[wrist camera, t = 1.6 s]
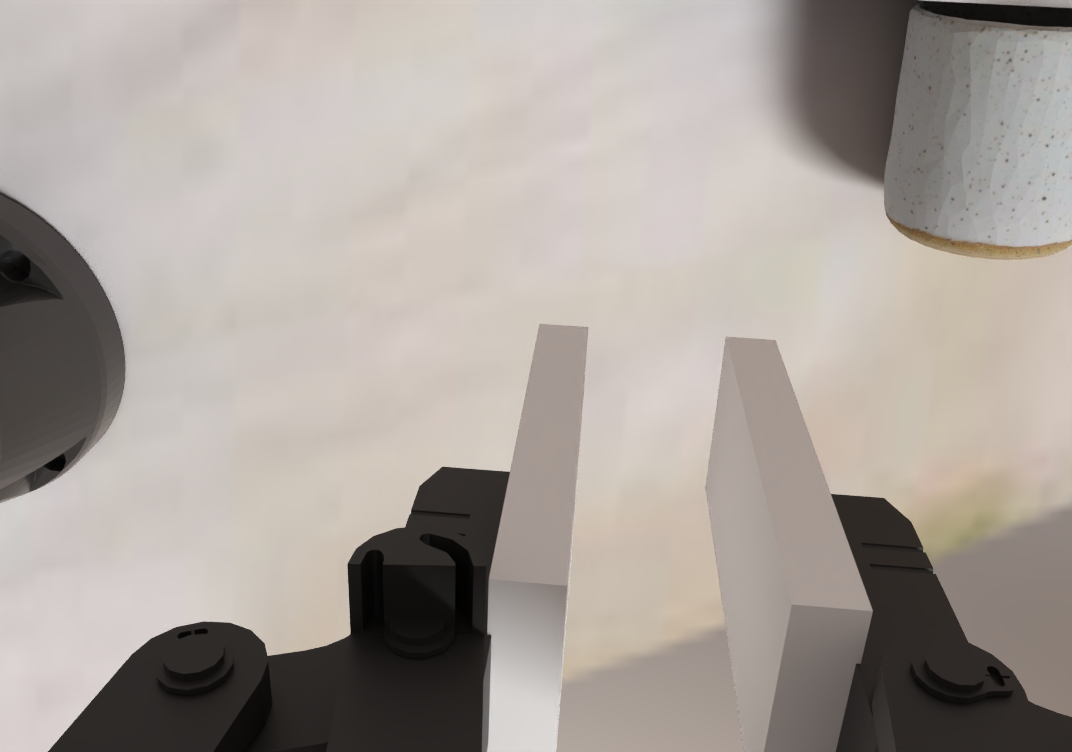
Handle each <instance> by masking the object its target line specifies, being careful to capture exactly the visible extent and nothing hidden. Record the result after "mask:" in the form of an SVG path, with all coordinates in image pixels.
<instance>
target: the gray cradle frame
mask: <svg viewBox="0 0 1072 752" xmlns="http://www.w3.org/2000/svg"><path fill="white" fill-rule="evenodd" d="M923 1H942V2H962V3H981V4H1001V5H1020V6H1040V7H1059V8H1072V0H923Z"/></svg>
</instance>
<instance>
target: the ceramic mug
mask: <svg viewBox="0 0 1072 752" xmlns="http://www.w3.org/2000/svg"><path fill="white" fill-rule="evenodd" d="M884 205H885V210H886V215H887V217H888V219H889V220H890V222H891V223H892V224H893V225H894V226H895V228H896V229H897V230H898V231H899V232H901V233H902V234H903V235H905V236H906V237H908V238H909V239H911V240H914V241H916V242H918V243H920V244H923V245H925V246H928V247H931V248H934V249H937V250H941V251H945V252H949V253H953V254H958V255H964V256H969V257H977V258H986V259H998V260H1022V259H1030V258H1039V257H1045V256H1049V255H1053V254H1055V253H1057V252H1059V251H1062V250H1064V249H1066V248H1068V247H1069V246H1071V245H1072V8H1059V7H1040V6H1020V5H1001V4H981V3H962V2H942V1H922V2H920V3H918V4H916V5H914V6H913V8H912V9H911V11H910V14H909V20H908V27H907V34H906V41H905V48H904V55H903V61H902V67H901V72H900V78H899V84H898V90H897V96H896V105H895V113H894V122H893V128H892V134H891V140H890V145H889V151H888V156H887V161H886V167H885V175H884Z"/></svg>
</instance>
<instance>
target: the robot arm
mask: <svg viewBox="0 0 1072 752" xmlns="http://www.w3.org/2000/svg"><path fill="white" fill-rule="evenodd" d="M587 337H588V327H577V326H562V325H548V324H540V325H539V330H538V335H537V340H536V345H535V350H534V355H533V360H532V365H531V370H530V375H529V380H528V385H527V390H526V395H525V400H524V405H523V410H522V415H521V420H520V425H519V430H518V435H517V440H516V445H515V450H514V455H513V460H512V465H511V470H510V472H503V471H490V470H477V469H464V468H451V467H442V468H441V469H439V470H438V471H437V472H436V473H435V474H434V475H432V476H431V477H430V478H429V479H428V480H426V481H425V482H424V483H423V484H422V485H421V486H420V487H419V490H418V492H417V495H416V498H415V501H414V504H413V507H412V510H411V514H410V515H409V518H408V521H407V524H406V527H405V528H397V529H394V530H391V531H388V532H385V533H382V534H379V535H376V536H373V537H372V538H370V539H369V540H368V541H366V542H365V543H363V544H362V545H361V546H359V547H358V548H356V550H355V552H354V554H353V555H352V557H351V559H350V561H349V562H348V583H349V605H350V626H351V634H350V635H349V636H348V637H346V638H344V639H342V640H339V641H337V642H335V643H332V644H330V645H327V646H324V647H319V648H315V649H310V650H306V651H299V652H293V653H286V654H279V655H272V656H267V652H266V648H265V644H264V642H262V641H261V640H260V639H259V638H258V637H257V636H256V635H255V634H254V633H253V632H252V631H251V630H249V629H246V628H243V627H240V626H237V625H234V624H232V623H223V622H200V623H195V624H190V625H185V626H180V627H176V628H173V629H171V630H169V631H167V632H165V633H163V634H160V635H158V636H156V637H154V638H152V639H150V640H149V641H148V642H147V643H145V644H144V645H143V646H142V647H141V648H139V649H138V650H137V651H136V652H135V653H133V654H132V655H131V656H130V657H129V659H128V660H127V661H126V662H125V663H124V664H123V666H122V667H121V668H120V669H119V670H118V671H117V672H116V674H115V675H114V676H113V677H112V678H111V679H110V681H109V682H108V683H107V684H106V685H105V686H104V688H103V689H102V690H101V691H100V692H99V693H98V694H97V696H96V697H95V698H94V699H93V700H92V701H91V703H90V704H89V705H88V706H87V707H86V708H85V709H84V711H83V712H82V713H81V714H80V715H79V716H78V718H77V719H76V720H75V721H74V722H73V723H72V725H71V726H70V727H69V728H68V729H67V730H66V731H65V733H64V734H63V735H62V736H61V737H60V738H59V740H58V741H57V742H56V743H55V744H54V745H53V747H52V748H51V749H50V750H49V751H48V752H556V748H557V735H558V722H559V708H560V697H561V684H562V671H563V658H564V645H565V633H566V620H567V607H568V594H569V581H570V568H571V556H572V543H573V530H574V517H575V504H576V492H577V479H578V465H579V450H580V436H581V422H582V408H583V394H584V379H585V365H586V351H587ZM124 382H125V355H124V347H123V341H122V336H121V332H120V329H119V325H118V322H117V319H116V316H115V313H114V311H113V309H112V306H111V304H110V302H109V300H108V298H107V296H106V294H105V292H104V290H103V288H102V287H101V285H100V283H99V281H98V280H97V278H96V277H95V275H94V274H93V272H92V271H91V269H90V268H89V267H88V265H87V264H86V263H85V261H84V260H83V259H82V258H81V256H80V255H79V254H78V253H77V252H76V251H75V250H74V248H73V247H72V246H71V245H70V244H69V243H68V242H67V241H66V240H65V239H64V238H63V237H62V236H61V235H59V234H58V233H57V232H56V231H55V230H54V229H53V228H52V227H50V226H49V225H48V224H47V223H45V222H44V221H43V220H42V219H40V218H39V217H37V216H36V215H35V214H33V213H32V212H30V211H29V210H27V209H25V208H24V207H22V206H21V205H19V204H17V203H15V202H13V201H12V200H10V199H8V198H6V197H4V196H2V195H0V503H2V502H5V501H7V500H10V499H13V498H15V497H18V496H21V495H23V494H26V493H29V492H31V491H34V490H36V489H38V488H41V487H43V486H45V485H47V484H49V483H50V482H52V481H54V480H55V479H57V478H58V477H60V476H61V475H63V474H64V473H66V472H67V471H68V470H69V469H71V468H72V467H73V466H74V465H75V464H76V463H77V462H78V461H79V460H80V459H81V458H82V457H83V456H84V455H85V454H86V453H87V452H88V451H89V450H90V449H91V448H92V447H93V446H94V445H95V444H96V443H97V442H98V441H99V440H100V439H101V438H102V436H103V435H104V434H105V432H106V431H107V430H108V428H109V426H110V425H111V423H112V421H113V419H114V417H115V415H116V413H117V411H118V408H119V405H120V402H121V398H122V394H123V389H124ZM706 494H707V501H708V508H709V515H710V522H711V529H712V536H713V542H714V549H715V556H716V563H717V570H718V577H719V584H720V590H721V597H722V604H723V611H724V618H725V625H726V631H727V638H728V644H729V652H730V659H731V665H732V673H733V679H734V686H735V693H736V699H737V707H738V714H739V720H740V727H741V734H742V741H743V748H744V752H1072V717H1069V716H1065V715H1062V714H1059V713H1056V712H1054V711H1051V710H1048V709H1045V708H1043V707H1040V706H1038V705H1035V704H1033V703H1031V702H1029V701H1028V699H1027V696H1026V693H1025V691H1024V689H1023V687H1022V686H1021V684H1020V683H1019V681H1018V680H1017V678H1016V676H1015V675H1014V673H1013V672H1012V671H1011V670H1010V669H1009V668H1008V667H1006V666H1005V665H1004V664H1003V663H1002V662H1001V661H999V660H998V659H997V658H996V657H994V656H993V655H992V654H990V653H988V652H986V651H984V650H982V649H980V648H978V647H976V646H974V645H972V644H970V643H968V641H967V639H966V637H965V635H964V632H963V630H962V628H961V626H960V624H959V622H958V620H957V618H956V616H955V614H954V611H953V609H952V607H951V605H950V603H949V601H948V599H947V597H946V595H945V592H944V590H943V588H942V586H941V584H940V582H939V580H938V578H937V576H936V574H933V567H932V565H931V563H930V561H929V559H928V557H927V555H926V553H923V546H922V544H921V542H920V540H919V538H918V536H917V534H916V531H915V529H914V527H913V525H912V523H911V521H909V520H908V519H907V518H906V517H905V516H904V515H903V514H901V513H900V512H899V511H898V510H897V509H896V508H895V507H893V506H892V505H891V504H890V503H889V502H888V501H887V500H885V499H884V498H875V497H862V496H849V495H836V494H831V493H830V491H829V488H828V485H827V482H826V479H825V477H824V474H823V471H822V468H821V466H820V463H819V460H818V457H817V454H816V452H815V449H814V446H813V443H812V441H811V438H810V435H809V432H808V429H807V427H806V424H805V421H804V418H803V416H802V413H801V410H800V407H799V404H798V402H797V399H796V396H795V393H794V391H793V388H792V385H791V382H790V379H789V377H788V374H787V371H786V368H785V366H784V363H783V360H782V357H781V354H780V352H779V349H778V346H777V343H776V341H775V340H764V339H750V338H735V337H726V340H725V347H724V355H723V362H722V370H721V377H720V385H719V392H718V399H717V407H716V414H715V422H714V429H713V436H712V444H711V451H710V459H709V466H708V473H707V481H706Z"/></svg>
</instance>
